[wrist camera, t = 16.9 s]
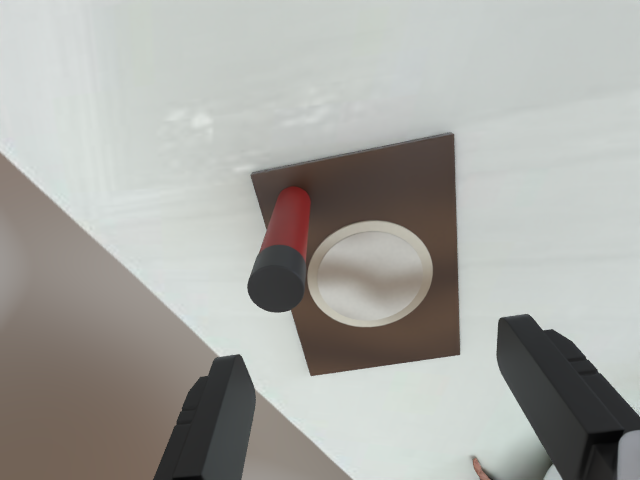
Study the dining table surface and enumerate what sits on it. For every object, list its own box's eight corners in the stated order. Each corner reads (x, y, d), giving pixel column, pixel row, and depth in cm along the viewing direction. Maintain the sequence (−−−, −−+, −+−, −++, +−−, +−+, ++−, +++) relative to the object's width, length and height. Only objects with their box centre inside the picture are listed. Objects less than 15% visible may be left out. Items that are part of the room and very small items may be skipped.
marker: (272, 189, 24) (239, 271, 15) (307, 182, 24) (297, 261, 14) (281, 220, 25) (256, 317, 16) (314, 214, 25) (309, 308, 15)
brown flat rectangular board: (251, 172, 24) (249, 176, 24) (451, 132, 23) (455, 134, 22) (310, 371, 33) (310, 378, 32) (457, 350, 32) (461, 357, 31)
